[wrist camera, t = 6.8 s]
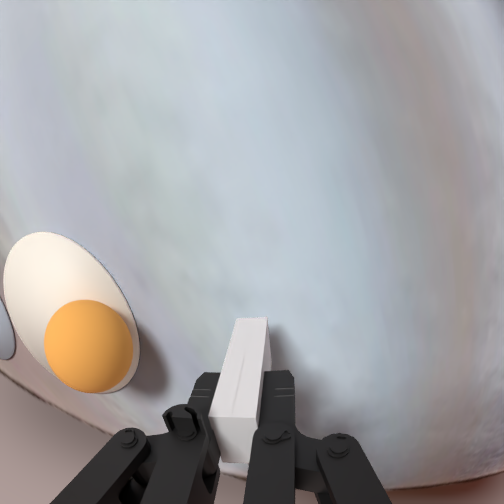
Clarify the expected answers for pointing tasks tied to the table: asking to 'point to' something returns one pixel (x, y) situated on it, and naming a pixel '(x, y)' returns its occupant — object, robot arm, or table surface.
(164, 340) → the table surface
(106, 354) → the ball
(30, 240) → the disc
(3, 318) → the pale blue disc
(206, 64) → the table surface
